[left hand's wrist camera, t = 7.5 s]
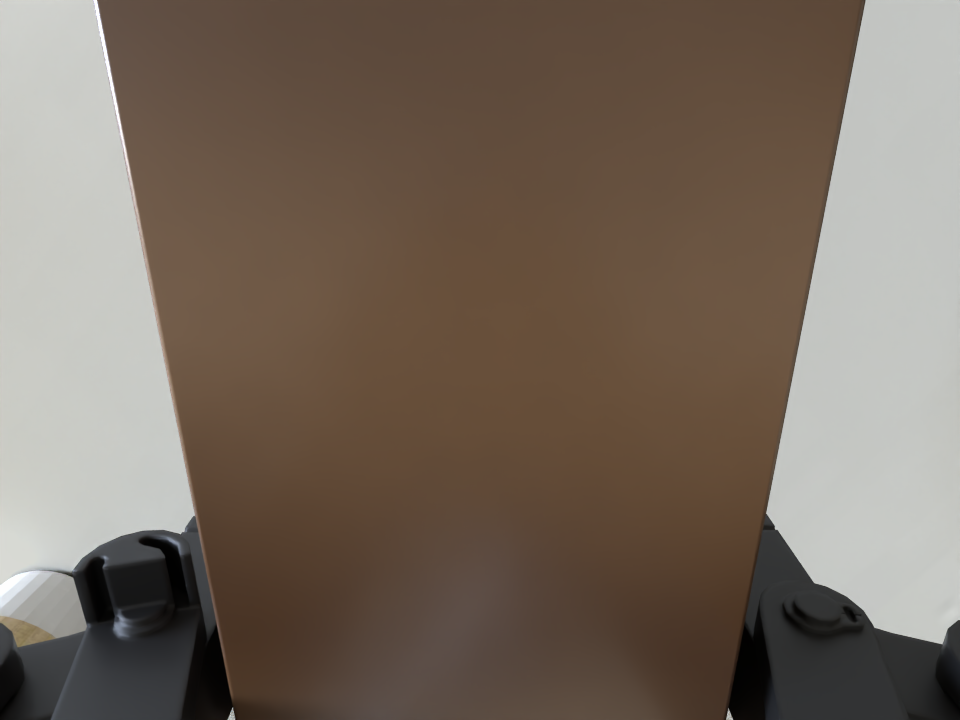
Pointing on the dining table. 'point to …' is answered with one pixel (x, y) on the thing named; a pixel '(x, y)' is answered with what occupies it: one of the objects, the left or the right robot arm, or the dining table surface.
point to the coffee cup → (40, 607)
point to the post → (479, 333)
